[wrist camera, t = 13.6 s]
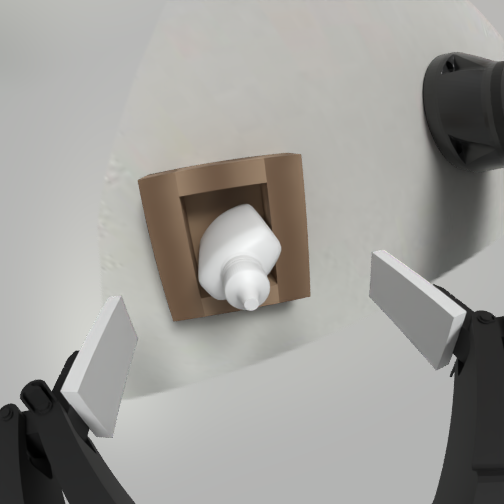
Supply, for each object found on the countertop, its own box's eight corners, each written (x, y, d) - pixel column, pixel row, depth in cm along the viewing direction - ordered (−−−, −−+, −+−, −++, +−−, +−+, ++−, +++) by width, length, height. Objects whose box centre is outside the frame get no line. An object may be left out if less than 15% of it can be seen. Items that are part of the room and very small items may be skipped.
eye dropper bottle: (266, 247, 25) (311, 325, 14) (204, 261, 25) (205, 350, 14) (258, 199, 24) (304, 249, 13) (192, 214, 23) (180, 276, 12)
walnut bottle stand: (286, 152, 24) (300, 154, 20) (297, 276, 28) (310, 296, 24) (148, 174, 23) (137, 180, 19) (176, 298, 27) (173, 321, 23)
